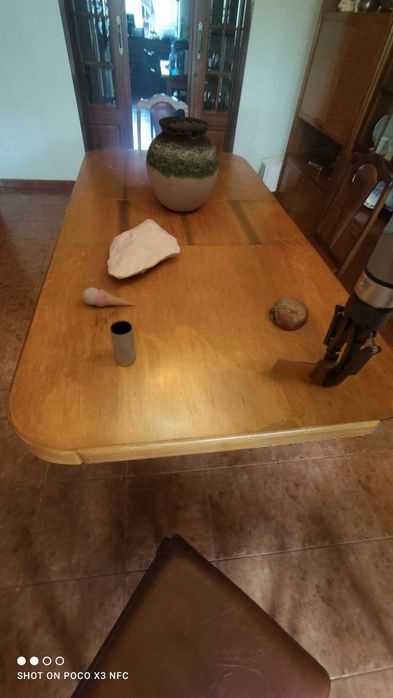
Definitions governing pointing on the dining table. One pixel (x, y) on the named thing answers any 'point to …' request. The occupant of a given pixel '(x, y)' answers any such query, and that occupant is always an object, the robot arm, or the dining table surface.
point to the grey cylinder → (123, 343)
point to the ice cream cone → (103, 298)
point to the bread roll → (289, 314)
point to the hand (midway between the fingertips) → (325, 379)
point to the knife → (305, 369)
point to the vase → (182, 163)
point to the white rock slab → (140, 249)
